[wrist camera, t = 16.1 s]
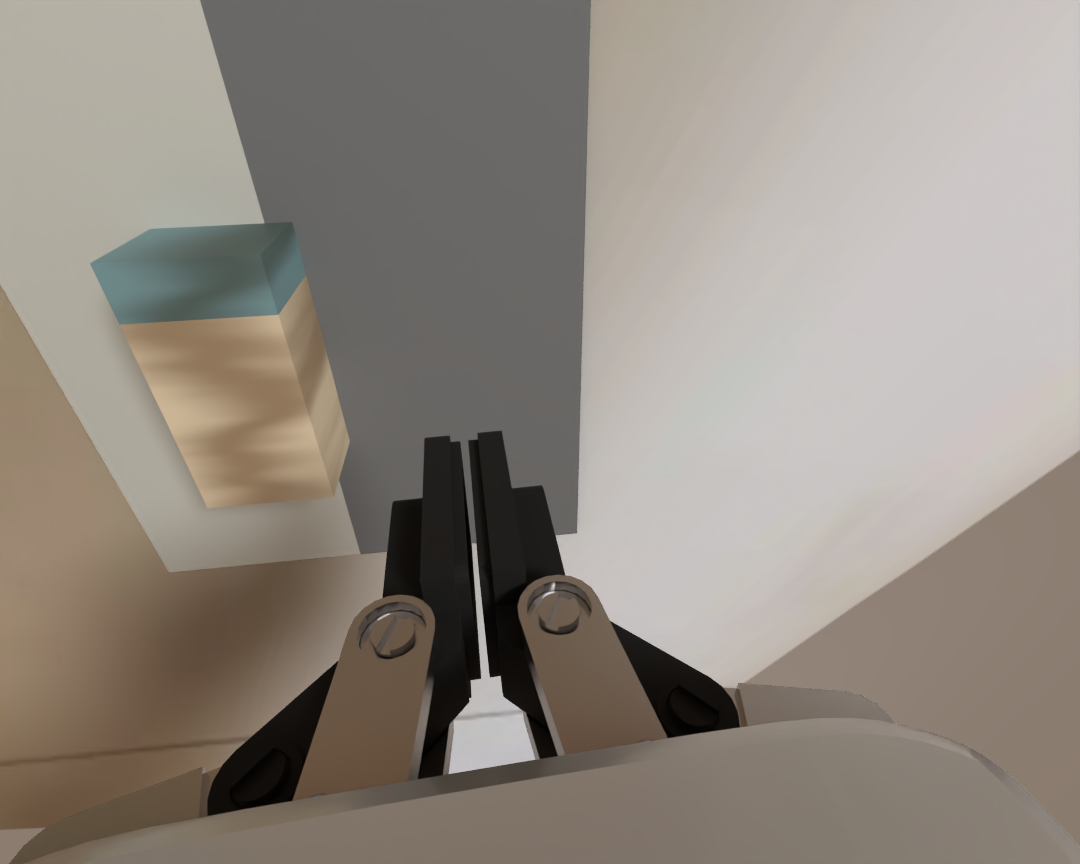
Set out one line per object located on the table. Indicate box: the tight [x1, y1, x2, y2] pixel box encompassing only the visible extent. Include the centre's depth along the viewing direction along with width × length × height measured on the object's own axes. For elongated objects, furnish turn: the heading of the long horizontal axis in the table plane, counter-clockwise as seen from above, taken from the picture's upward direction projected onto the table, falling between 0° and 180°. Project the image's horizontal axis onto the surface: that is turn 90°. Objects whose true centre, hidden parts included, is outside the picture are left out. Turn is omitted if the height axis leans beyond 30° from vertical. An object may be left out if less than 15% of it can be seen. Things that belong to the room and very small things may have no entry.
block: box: [90, 222, 350, 508], centre depth 22 cm, size 5×4×10 cm
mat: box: [0, 0, 591, 573], centre depth 22 cm, size 30×22×1 cm
